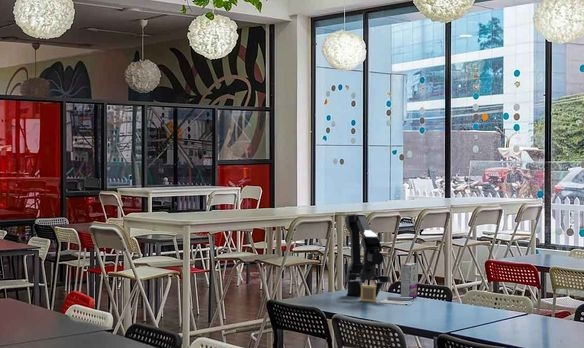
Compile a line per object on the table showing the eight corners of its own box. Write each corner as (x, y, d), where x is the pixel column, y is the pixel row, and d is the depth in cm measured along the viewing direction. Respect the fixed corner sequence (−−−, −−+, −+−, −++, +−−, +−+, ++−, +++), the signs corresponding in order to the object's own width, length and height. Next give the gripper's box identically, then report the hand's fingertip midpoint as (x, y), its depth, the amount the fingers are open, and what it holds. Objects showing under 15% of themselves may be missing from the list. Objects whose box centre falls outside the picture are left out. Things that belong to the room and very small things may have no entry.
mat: (379, 302, 395) (379, 298, 395) (386, 299, 408) (386, 295, 408) (409, 305, 390) (409, 301, 390) (415, 301, 404) (415, 297, 404)
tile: (360, 300, 401) (361, 285, 401) (361, 300, 403) (362, 285, 403) (375, 301, 399) (375, 286, 399) (376, 301, 401) (376, 286, 401)
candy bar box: (407, 296, 424) (408, 262, 424) (417, 297, 422) (418, 263, 422) (399, 298, 414) (400, 264, 414) (409, 299, 412) (410, 264, 412)
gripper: (345, 262, 397) (344, 296, 396) (385, 265, 390) (384, 300, 390) (351, 261, 407) (350, 294, 407) (391, 263, 401) (389, 297, 401)
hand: (368, 296), depth 401 cm, fingers closed on tile, 7 cm apart
